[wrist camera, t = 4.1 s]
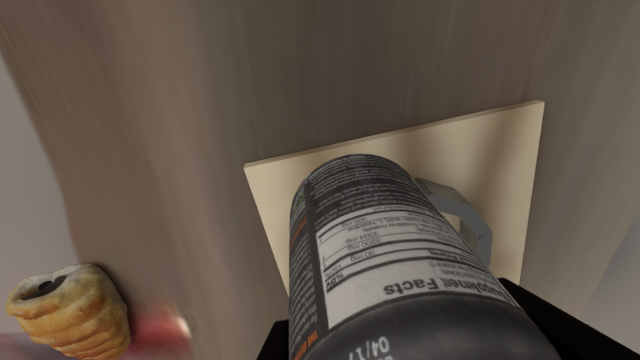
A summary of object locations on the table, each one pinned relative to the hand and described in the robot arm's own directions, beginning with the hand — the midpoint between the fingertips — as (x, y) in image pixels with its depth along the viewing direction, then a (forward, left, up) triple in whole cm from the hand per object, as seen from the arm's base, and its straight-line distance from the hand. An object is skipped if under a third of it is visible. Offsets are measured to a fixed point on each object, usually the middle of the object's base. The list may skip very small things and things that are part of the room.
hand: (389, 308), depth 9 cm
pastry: (+22, +8, -13) cm, 27 cm away
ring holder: (-4, +8, -13) cm, 16 cm away
